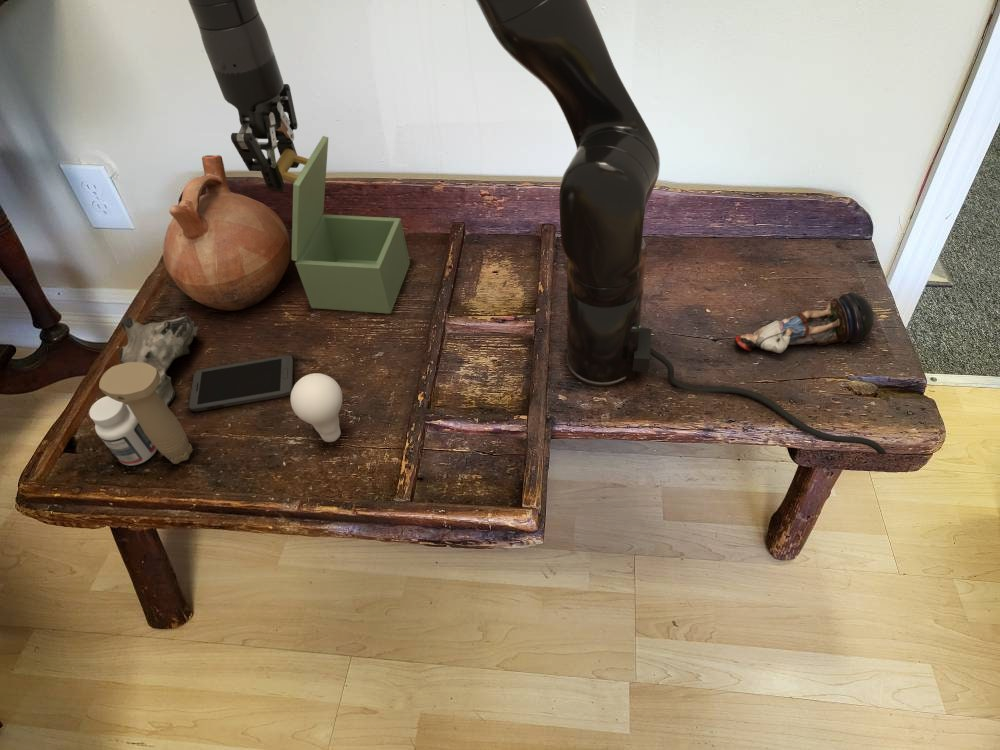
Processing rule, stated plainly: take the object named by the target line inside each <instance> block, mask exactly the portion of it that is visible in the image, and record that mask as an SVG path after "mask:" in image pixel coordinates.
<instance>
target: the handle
mask: <svg viewBox="0 0 1000 750" xmlns="http://www.w3.org/2000/svg"><path fill="white" fill-rule="evenodd" d="M159 383H160V374H159V372H158V371H157V369H156V368H154V367H153V366H151V365H149V364H147V363H142V362H127V363H123V364H122V363H119V364H115V365H113V366H111V367H110V368H108V369H107V370H106V371H105V372H104V373H103V374H102V376H101V377H100V379H99V383H98V387H99V390H100V391H101V392H102V393H103V394H104V395H105V396H108V397H110V398H112V399H114V400H116V401H119V402H122V403H125V404H126V405H128V406H129V408H130V409H131V411H132V413H133V414H134V416H135V417H136V419H137V421H138V422H139V424H140V426H141V428H142V429H143V431H144V433H145V434H146V436H147V437H148V438H149V440H150V441H151V442H152V444H153V445H154V446H155V447H156V448H157V451H158V452H160V453H161V455H163V456H164V457H165V458H166V459H167V460H168V461H169V462H171V463H172V464H173V465H174V464H175V465H177V464H179V463H181V462H185V461H187V460H189V459H190V455H191V454H192V453H193V451H194V450H193V446H192V445H191V443H189V438H188V436H187V434H186V432H185V430H184V427H183V426H182V424H181V422H180V421H179V420H178V418H177V416H176V415H175V414H174V413H173V412H172V411H171V409H170V408H169V407H167V405H166V404H165V403H164V402H163V400H162V399H161V398H160V396H159V395H158V394H157V392H156V391H155V390H156V388H157V387H158V385H159Z"/></svg>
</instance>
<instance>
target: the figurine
mask: <svg viewBox="0 0 1000 750" xmlns="http://www.w3.org/2000/svg"><path fill="white" fill-rule="evenodd" d="M873 309H874V308H873V306H872V305H871V303H870V302H869V300H867V298H866V297H865V296H863V295H861V294H859V293H855V292H849V293H845V294H841V295H840V296H839V297H838V298H835V297H834V298H832V300H829V301H828V302H827V306H826V309H824V310H817V309H816V310H814V309H813V310H805V311H803V312H799V313H798V314H797V315H793V316H791V317H789V318H783V319H782V320H779V319H778V320H774V321H773V322H771V323H768V324H767V325H764V326H761V327H760V328H759V329H757V330H756V331H753V332H752V333H745V334H743V335H736V336H734V343H735V345H737V346H738V347H739V348H740V349H742V350H744V351H749V352H750V351H752V350H753V348H754V349H756V348H758V349H762V350H764V351H768V352H773V353H777V354H781V353H783V352H784V351H786V349H787V348H788V346H789V345H791V346H793V345H794V346H795V345H801V344H802V345H803V344H804V345H812V344H814V345H816V346H826V345H829V344H833V343H838V342H841V343H847V341H848V342H851V343H856V344H858V343H859V342H860V341H861V340H865V339H866V338H867V337H868V336H869V334H870V332H871V331H872V329H873V327H874V321H875V313H874V310H873Z"/></svg>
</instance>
